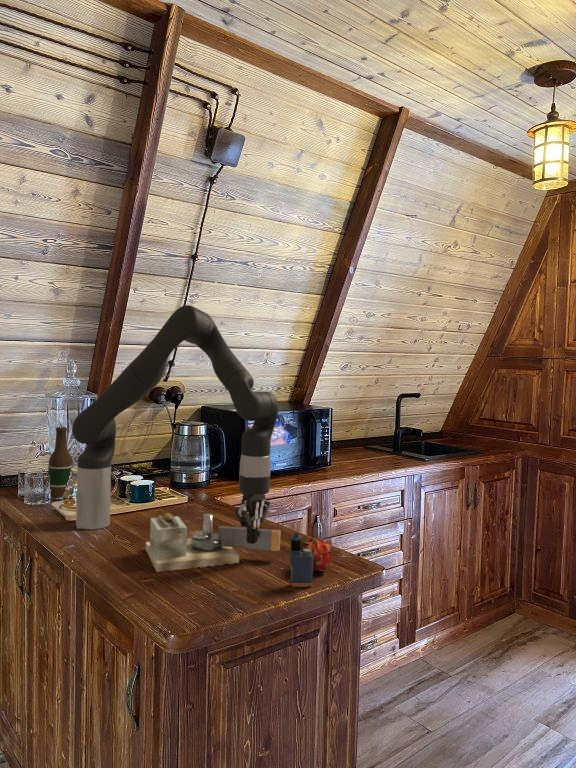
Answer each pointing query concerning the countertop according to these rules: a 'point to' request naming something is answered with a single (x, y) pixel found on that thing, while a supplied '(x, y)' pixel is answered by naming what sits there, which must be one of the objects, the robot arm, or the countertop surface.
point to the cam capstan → (232, 537)
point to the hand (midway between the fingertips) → (251, 542)
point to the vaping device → (300, 561)
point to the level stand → (181, 547)
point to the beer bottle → (59, 464)
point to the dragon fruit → (318, 552)
